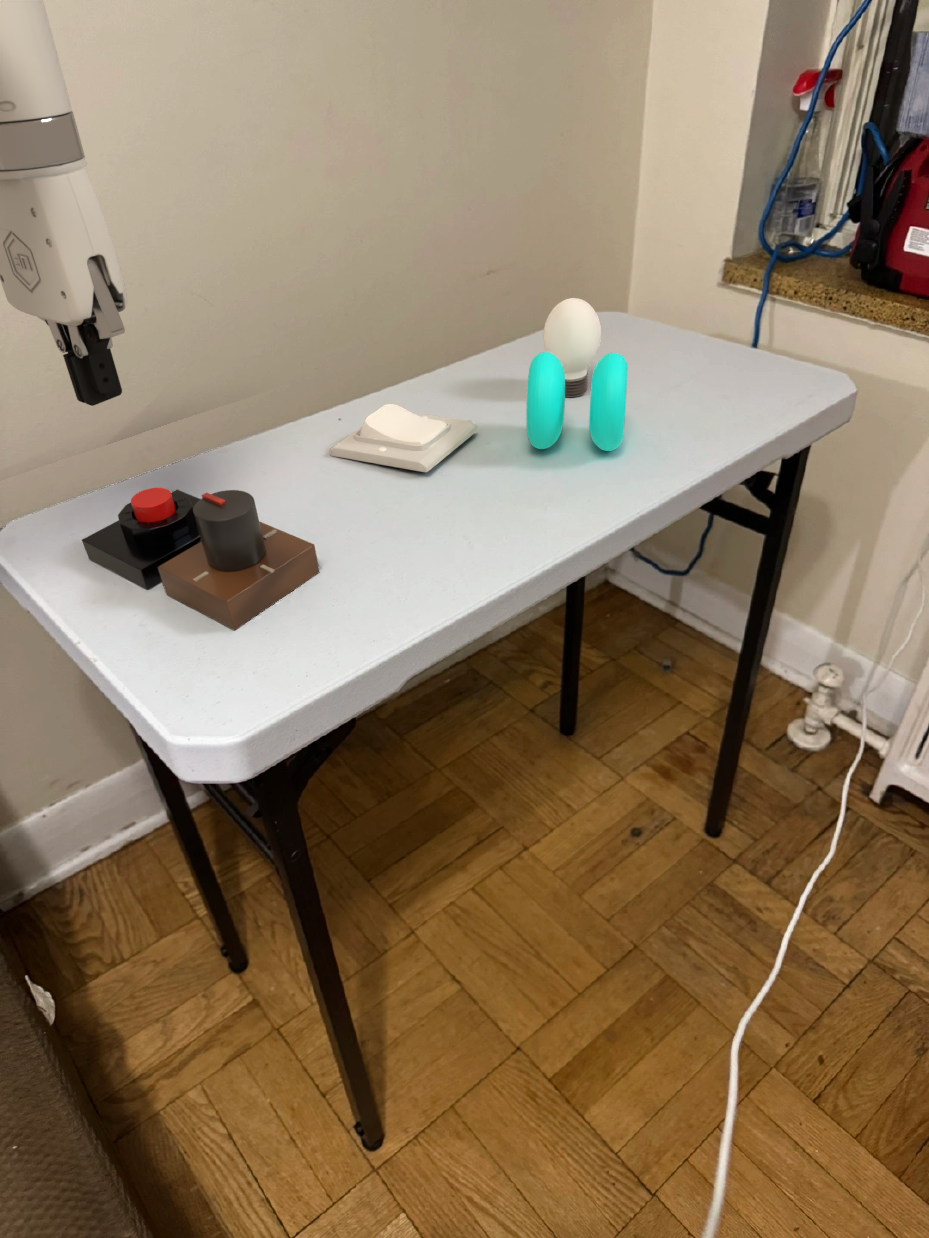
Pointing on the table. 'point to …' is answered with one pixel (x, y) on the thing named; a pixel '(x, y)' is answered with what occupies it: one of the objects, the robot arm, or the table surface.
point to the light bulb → (573, 341)
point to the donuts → (550, 401)
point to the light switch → (404, 439)
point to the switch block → (144, 541)
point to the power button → (153, 505)
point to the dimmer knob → (229, 530)
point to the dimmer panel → (240, 578)
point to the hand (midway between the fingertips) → (100, 398)
